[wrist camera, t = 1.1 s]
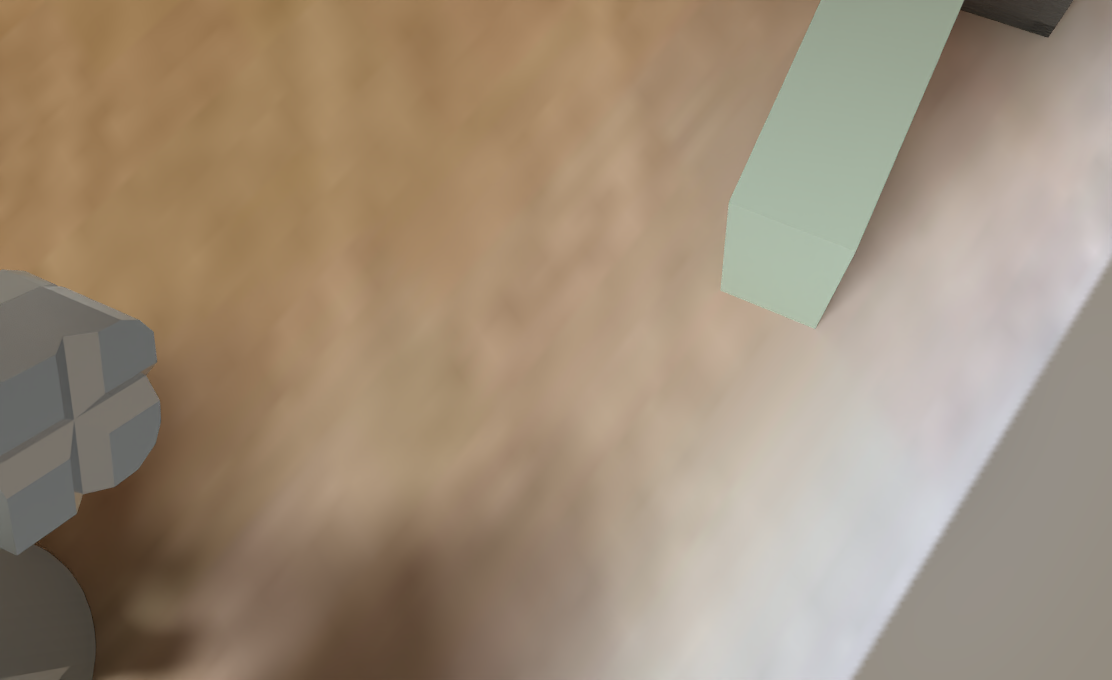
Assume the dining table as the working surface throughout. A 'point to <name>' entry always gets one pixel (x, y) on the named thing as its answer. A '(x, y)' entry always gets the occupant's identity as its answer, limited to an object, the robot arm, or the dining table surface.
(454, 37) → the dining table surface
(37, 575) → the coffee mug
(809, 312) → the sage green slab
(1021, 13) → the grey rectangular tray
